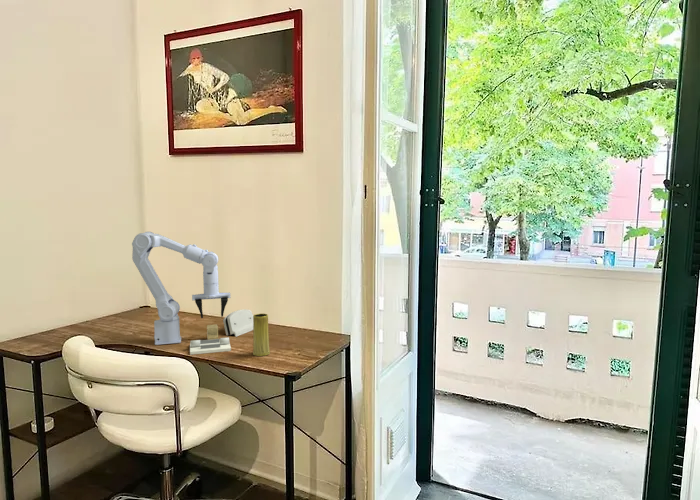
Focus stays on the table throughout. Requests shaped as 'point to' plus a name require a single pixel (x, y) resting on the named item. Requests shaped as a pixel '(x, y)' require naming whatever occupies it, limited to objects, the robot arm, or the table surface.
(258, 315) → the vase
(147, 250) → the robot arm
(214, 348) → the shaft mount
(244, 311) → the hinge
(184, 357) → the table surface
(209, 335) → the coupler
